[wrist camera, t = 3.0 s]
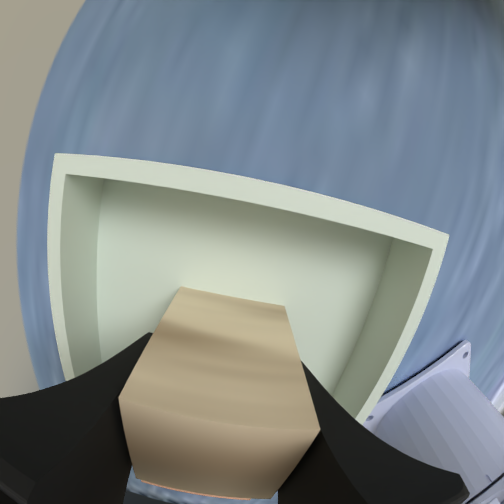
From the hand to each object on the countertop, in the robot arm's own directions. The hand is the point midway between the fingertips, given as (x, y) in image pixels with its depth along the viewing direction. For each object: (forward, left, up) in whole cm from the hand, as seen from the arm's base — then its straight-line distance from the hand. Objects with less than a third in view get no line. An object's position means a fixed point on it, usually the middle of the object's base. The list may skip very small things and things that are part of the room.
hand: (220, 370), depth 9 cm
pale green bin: (0, 0, -2) cm, 2 cm away
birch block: (0, 0, -2) cm, 2 cm away
